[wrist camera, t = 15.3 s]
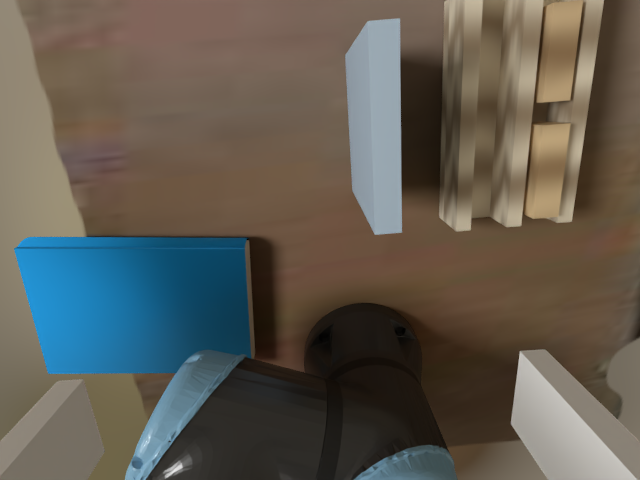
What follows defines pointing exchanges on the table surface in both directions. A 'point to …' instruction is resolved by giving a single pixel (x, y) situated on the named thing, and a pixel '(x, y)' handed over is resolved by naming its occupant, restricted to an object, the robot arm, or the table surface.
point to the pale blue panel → (376, 123)
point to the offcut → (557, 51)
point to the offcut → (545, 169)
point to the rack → (504, 107)
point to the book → (137, 301)
